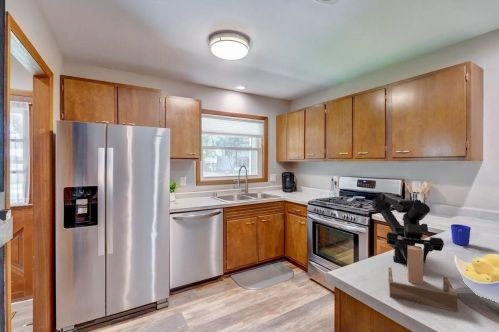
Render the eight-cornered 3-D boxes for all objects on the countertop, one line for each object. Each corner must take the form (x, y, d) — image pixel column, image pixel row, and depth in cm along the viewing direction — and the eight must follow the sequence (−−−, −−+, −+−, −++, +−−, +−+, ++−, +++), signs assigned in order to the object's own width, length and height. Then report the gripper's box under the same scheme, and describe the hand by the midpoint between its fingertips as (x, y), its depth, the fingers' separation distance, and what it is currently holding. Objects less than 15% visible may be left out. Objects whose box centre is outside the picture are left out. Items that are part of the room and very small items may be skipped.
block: (407, 276, 95) (407, 244, 95) (420, 279, 93) (420, 246, 93) (408, 282, 91) (408, 248, 91) (422, 284, 89) (422, 250, 89)
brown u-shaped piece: (388, 279, 93) (388, 267, 93) (446, 291, 84) (446, 277, 84) (389, 296, 82) (389, 282, 82) (457, 311, 73) (457, 295, 73)
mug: (449, 246, 128) (450, 227, 127) (451, 240, 137) (451, 223, 136) (470, 250, 122) (470, 230, 122) (470, 243, 131) (470, 225, 131)
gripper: (386, 213, 100) (387, 247, 90) (442, 217, 91) (450, 256, 81) (386, 226, 107) (387, 260, 97) (438, 232, 98) (444, 269, 88)
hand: (415, 261), depth 91 cm, fingers open, 5 cm apart
